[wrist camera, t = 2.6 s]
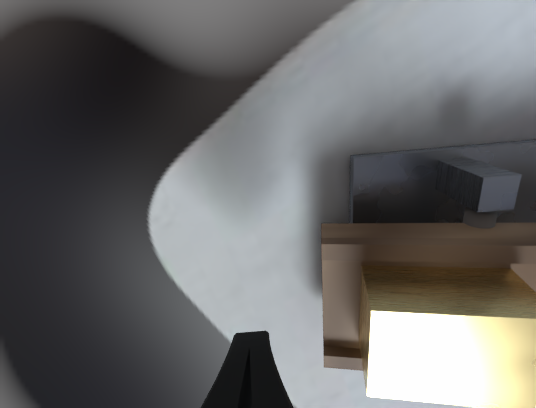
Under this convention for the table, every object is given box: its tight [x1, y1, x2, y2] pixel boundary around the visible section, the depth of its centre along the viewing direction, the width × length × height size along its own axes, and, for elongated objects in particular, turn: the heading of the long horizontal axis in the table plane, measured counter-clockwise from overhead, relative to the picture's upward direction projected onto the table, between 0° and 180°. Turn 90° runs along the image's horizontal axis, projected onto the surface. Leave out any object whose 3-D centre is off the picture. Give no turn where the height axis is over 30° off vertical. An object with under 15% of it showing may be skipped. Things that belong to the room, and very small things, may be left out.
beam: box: [321, 207, 536, 371], centre depth 14 cm, size 18×8×3 cm, turn 94°
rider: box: [359, 265, 536, 408], centre depth 12 cm, size 6×4×3 cm
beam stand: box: [349, 140, 536, 223], centre depth 16 cm, size 10×13×4 cm
